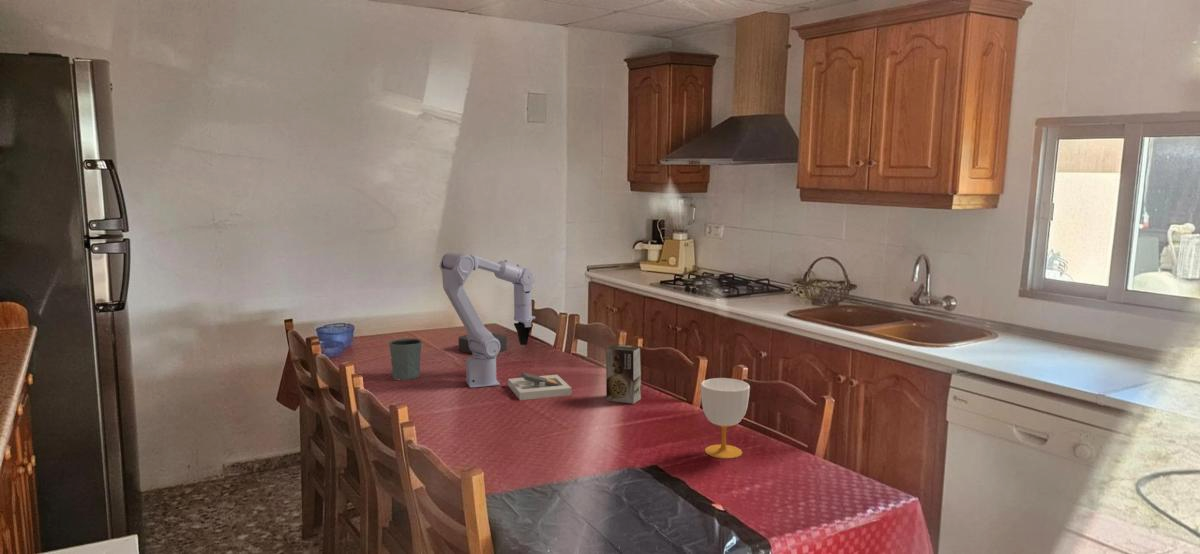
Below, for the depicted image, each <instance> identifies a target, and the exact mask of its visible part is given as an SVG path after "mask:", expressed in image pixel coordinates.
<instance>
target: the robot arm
mask: <svg viewBox="0 0 1200 554" xmlns="http://www.w3.org/2000/svg"><path fill="white" fill-rule="evenodd" d="M439 263H440V264H439V266H438V267H439V269H440V271H441V275H442V276H441V278H442V279H441V280H442V288H443V291H444V292H445V294H446V296H447V298H448V300H449V301H450V303H451V305H452V307H453V308H454V310H455V312H456V314H457V316H458V318H459V319H460V321H461V323H462V325H463V327H464V328H465V330H466V331H467V334H466V335H467V336H466V337H467V339H468V343H469V348H470V350H471V351H472V354H471V355H472V356H471V357H467V358H466V360H465V372H466V373H465V374H466V375H465V376H466V377H465V378H466V381H465V382H466V384H467V385H468V387H469V388H470V389H473V388H482V387H483V388H484V387H494V386H495V387H496V386H500V385H501V383H500V382H499V380H498V379H497V357H498V354H499V353H500V352H501V351H500V342H499V340H498V339H496V338H495V337H494V336H493V335H492V333H493V332H491V331H490V330H488V328H486V327H485V325H484V324H483V321H482V320H481V318H480V316H479V314H478V312H477V311H476V309H475V307H474V305H473V303H472V301H471V300H470V297H469V296H468V294H467V292H466V290H465V288H464V284H465V283H466V281H467V280H468V279H469V277H470V275H471V274H472V272H473V271H476V270H477V269H480V270H483V271H486V272H491V273H494V276H495V278H497V279H498V280H499V279H500V280H502V281H505V282H509V283H512V284H513V307H514V308H513V311H514V312H513V315H514V316H513V320H514V321H515V322H514V323H513V326H514V328H515V330H516V334H517V337H518V342H519V345H520V346H526V345H528V341H529V337H530V332H531V331H532V329H533V327H534V325H533V323H532V321H533V320H535V319H536V316H535V315H533V312H532V311H533V310H532V309H533V308H532V306H533V305H532V300H533V299H532V289H533V285H534V282H535V279H536V276H535V275H534V273H533V271H532V270H531V269H530V268H526V267H522V265H521V264H513V263H511V261H510V260H507V259H504V260H500V261H498V262H495V261H492V260H490V259H487V258H484V257H481V256H479V255H474V254H466V253H461V252H460V253H459V252H458V253H457V252H455V251H448V252H446V253H445V254H444V255H443V256H442V258H441V260H440V262H439Z"/></svg>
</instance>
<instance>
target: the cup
mask: <svg viewBox="0 0 1200 554" xmlns="http://www.w3.org/2000/svg"><path fill="white" fill-rule="evenodd" d="M750 390H751V386H750V384H749V383H748V382H746V381H744V380H741V379H735V378H731V377H730V378H727V377H717V378H716V377H715V378H714V377H713V378H708V379H705V380H702V382H701V383H700V396H701V406H702V410H703V413H704V415H705V418H706V419H707V420H708V422H710V423H712V424H713V425H714V426H715V425H716V426H718V427H720V428H721V444H712V445H709V446H707V447H705V449H704V453H705V454H706V455H708V456H709V455H710V456H709V457H712V458H716V459H721V460H727V459H728V460H730V459H735V458H739V457H741V456H742V454H743V450H742V449H741V448H739V447H737V446H733V445H729V444H727V429H728V428H730V427H732V426H735V425H738V424H739V423H740V422H741V421H742V420H743V418H744V417H745V416H746V412H747V411H748V406H749V400H750V399H749V398H750Z"/></svg>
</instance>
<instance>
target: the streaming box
mask: <svg viewBox="0 0 1200 554" xmlns="http://www.w3.org/2000/svg"><path fill="white" fill-rule="evenodd" d="M491 333H492V335H493V336H494V337H495V338H496V339H498V340H499V342H500V351H499V352H505V351H507V349H508V337H507V335H504V334H500V333H494V332H491ZM467 335H468V334H466V335H465V334H464V335H461V336H458V350H459V351H460V352H463V353H468V354H471V355H472V351H471V350H470V348H469V343H468V339H467V337H466V336H467Z"/></svg>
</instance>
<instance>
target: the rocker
mask: <svg viewBox="0 0 1200 554" xmlns="http://www.w3.org/2000/svg"><path fill="white" fill-rule="evenodd" d="M520 376H521V378H524V379H525V380H527V381H531V382H535V383H539V382H545V385H546V386H550V387H551V386H559V384H558V383H556V382H555V381H554V380H551V379H547V378H543V377H539V376H540V375H535V374H532V373H527V372H524V371H521V374H520Z"/></svg>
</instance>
